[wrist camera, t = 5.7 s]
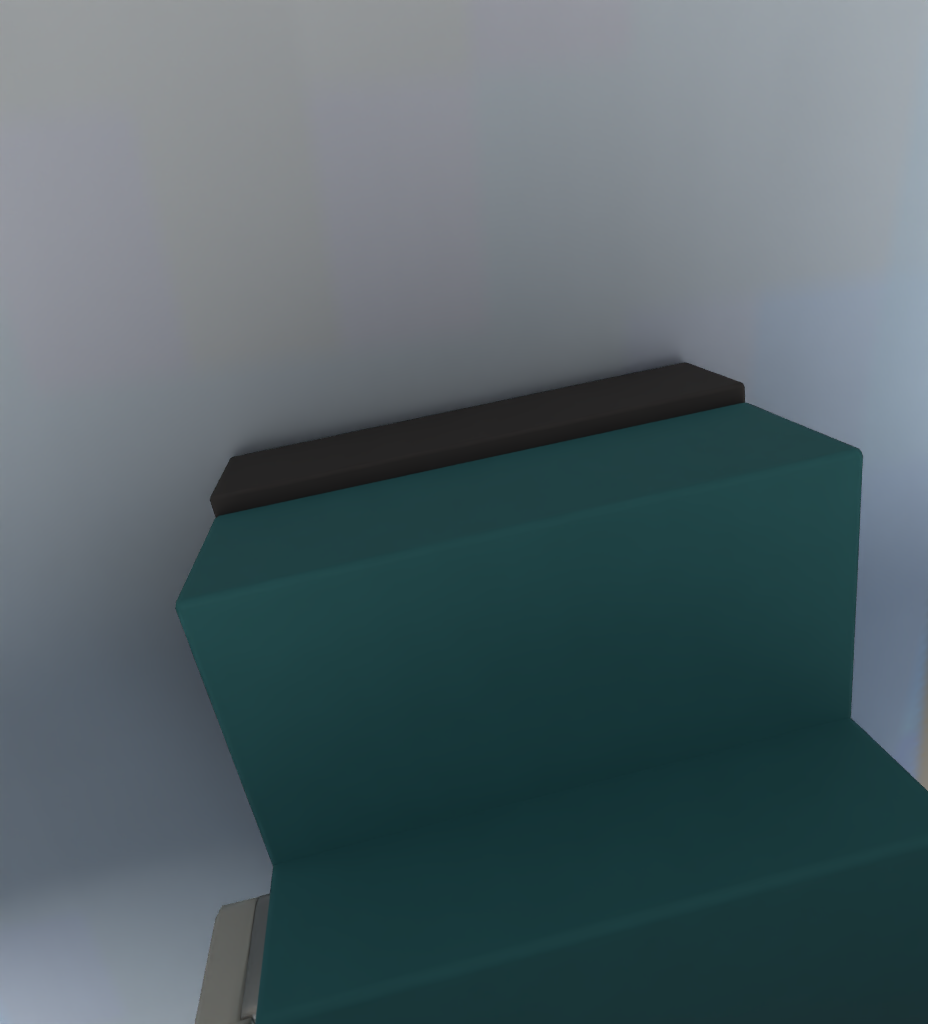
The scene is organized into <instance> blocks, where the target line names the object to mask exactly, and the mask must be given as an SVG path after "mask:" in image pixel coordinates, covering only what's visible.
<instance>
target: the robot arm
mask: <svg viewBox="0 0 928 1024" xmlns="http://www.w3.org/2000/svg"><path fill="white" fill-rule="evenodd" d="M269 898H270V894H267V895H262V896H260V897H256V898H252V899H248V900H244V901H239V902H235V903H231V904H227V905H222V907H221V909H220V910H219V912H218V914H217V916H216V918H215V923H214V928H213V933H212V938H211V943H210V948H209V953H208V958H207V963H206V968H205V974H204V979H203V984H202V989H201V994H200V999H199V1004H198V1009H197V1014H196V1019H195V1024H255V1020H256V1011H257V1002H258V994H259V985H260V976H261V968H262V959H263V950H264V942H265V933H266V924H267V916H268V907H269Z"/></svg>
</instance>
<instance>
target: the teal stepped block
mask: <svg viewBox="0 0 928 1024" xmlns="http://www.w3.org/2000/svg"><path fill="white" fill-rule="evenodd" d="M862 464H863V455H862V452H861V451H860V449H858V448H856V447H853V446H851V445H848V444H846V443H843V442H841V441H839V440H836V439H834V438H831V437H829V436H826V435H824V434H822V433H819V432H817V431H814V430H812V429H809V428H807V427H805V426H802V425H800V424H797V423H795V422H792V421H790V420H788V419H785V418H783V417H780V416H778V415H775V414H773V413H771V412H768V411H766V410H763V409H761V408H758V407H756V406H754V405H751V404H749V403H745V387H744V384H743V383H741V382H738V381H736V380H733V379H730V378H727V377H725V376H722V375H719V374H716V373H714V372H711V371H708V370H705V369H703V368H700V367H697V366H695V365H692V364H689V363H685V362H684V363H679V364H674V365H670V366H665V367H660V368H655V369H651V370H646V371H641V372H636V373H632V374H627V375H622V376H617V377H612V378H608V379H603V380H598V381H593V382H589V383H584V384H579V385H574V386H570V387H565V388H560V389H555V390H550V391H546V392H541V393H536V394H531V395H527V396H522V397H517V398H512V399H507V400H503V401H498V402H493V403H488V404H484V405H479V406H474V407H469V408H465V409H460V410H455V411H450V412H445V413H441V414H436V415H431V416H426V417H422V418H417V419H412V420H407V421H403V422H398V423H393V424H388V425H383V426H379V427H374V428H369V429H364V430H360V431H355V432H350V433H345V434H341V435H336V436H331V437H326V438H321V439H317V440H312V441H307V442H302V443H298V444H293V445H288V446H283V447H278V448H274V449H269V450H264V451H259V452H255V453H250V454H245V455H240V456H236V457H232V458H231V459H230V460H229V462H228V464H227V466H226V468H225V470H224V472H223V474H222V476H221V478H220V479H219V481H218V483H217V485H216V487H215V489H214V491H213V493H212V495H211V497H210V502H211V505H212V508H213V511H214V514H215V517H216V518H215V519H214V522H213V524H212V526H211V528H210V530H209V532H208V534H207V537H206V539H205V541H204V543H203V545H202V547H201V549H200V552H199V554H198V556H197V558H196V560H195V562H194V564H193V567H192V569H191V571H190V573H189V575H188V577H187V579H186V582H185V584H184V586H183V588H182V590H181V592H180V594H179V597H178V599H177V601H176V607H175V609H176V611H177V614H178V617H179V619H180V622H181V625H182V627H183V630H184V632H185V635H186V638H187V640H188V643H189V646H190V648H191V651H192V654H193V656H194V659H195V661H196V664H197V667H198V669H199V672H200V675H201V677H202V680H203V683H204V685H205V688H206V690H207V693H208V696H209V698H210V701H211V704H212V706H213V709H214V712H215V714H216V717H217V719H218V722H219V725H220V727H221V730H222V733H223V735H224V738H225V741H226V743H227V746H228V748H229V751H230V754H231V756H232V759H233V762H234V764H235V767H236V770H237V772H238V775H239V777H240V780H241V783H242V785H243V788H244V791H245V793H246V796H247V799H248V801H249V804H250V806H251V809H252V812H253V814H254V817H255V820H256V822H257V825H258V828H259V830H260V833H261V835H262V838H263V841H264V843H265V846H266V849H267V851H268V854H269V857H270V859H271V862H272V864H273V873H272V881H271V890H270V898H269V907H268V916H267V924H266V933H265V942H264V950H263V959H262V968H261V976H260V985H259V994H258V1002H257V1011H256V1020H255V1024H928V791H927V790H926V789H925V788H924V787H923V786H922V785H921V784H920V783H919V782H918V781H917V780H916V779H914V778H913V777H912V776H911V775H910V774H909V773H908V772H907V771H906V770H905V769H904V768H903V767H902V766H901V765H900V764H899V763H898V762H897V761H896V760H894V759H893V758H892V757H891V756H890V755H889V754H888V753H887V752H886V751H885V750H884V749H883V748H882V747H881V746H880V745H879V744H878V743H877V742H876V741H874V740H873V739H872V738H871V737H870V736H869V735H868V734H867V733H866V732H865V731H864V730H863V729H862V728H861V727H860V726H859V725H858V724H857V723H856V722H855V721H853V720H852V719H851V702H852V680H853V659H854V637H855V615H856V594H857V572H858V550H859V529H860V507H861V485H862Z"/></svg>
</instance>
